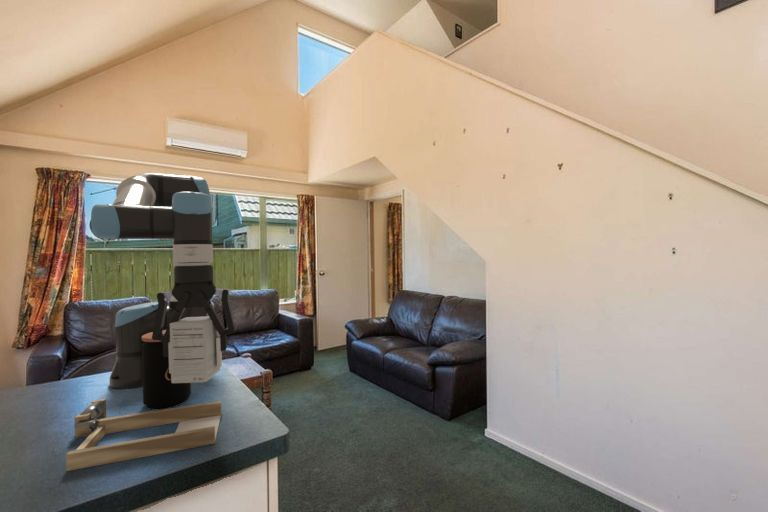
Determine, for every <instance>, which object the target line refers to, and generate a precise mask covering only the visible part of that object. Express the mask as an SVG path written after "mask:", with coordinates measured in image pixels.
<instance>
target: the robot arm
mask: <svg viewBox="0 0 768 512" xmlns="http://www.w3.org/2000/svg"><path fill="white" fill-rule="evenodd" d="M115 195H116V197H115V199H114V201H113V202H112V204H111V203H104V204H103V203H102V204H99V203H98V204H95V205H93V206H92V209H91V210H90V211H91V213H90V224H91V231H92V234H93V235H94V237H95V238H97V239H103V240H104V239H105V240H107V239H108V240H113V241H114V240H115V241H116V240H172V256H173V257H172V259H173V261H172V265H173V288H172V290H169V291H160V292H158V293H157V294H156V298H157V299H156V300H157V301H154V302H152V301H151V302H145V303H140V304H134V305H130V306H127V307H123V308H121V309H119V310H118V311H117V312H116V314H115V321H114V322H115V324H114V328H115V351H116V352H115V354H116V356H115V358H116V359H115V361H114V364H113V367H112V370H111V373H110V376H109V387H110V388H112V389H121V390H122V389H134V388H139V387H140V388H141V387H143V375H142V345H143V344H144V342H143V341H142V336H143V335H144V334H147V333H151V332H153V334H152V339H153V340H159V341H162V343H163V356H164V357H169V374H170V373H171V356H170V323H173V322H178V321H179V320H181V319H183V318H186V317H205V316H209V317H210V319H211V320H212V322H213V324H214V326H215V328H216V329H217V331H218V333H219V335H218V336H217V338H216V349H217V368H220V369H221V368H222V365H223V359H222V358H223V356H222V355H223V353H222V352H224V351H227V347H228V335H230V334H234V332H235V331H236V326H235V322H234V318H233V313H232V309H231V304H230V301H229V297H230V296H229V295H230V289H229V288H224V289H223V288H217V287H216V285H215V283H214V266H213V265H212V264H211V263H213V262H214V251H213V249H214V244H213V208H212V198H211V192H210V187H209V183H208V181H207V180H206V178H203V177H199V176H194V175H182V174H169V173H167V174H166V173H158V172H156V173H155V172H148V173H147V172H146V173H139V174H137V175H132V176H130V177H127V178H125V179H124V180H122V181H121V182H120V183H119V185H118V186H117V188H116V190H115ZM216 294H217V298H218V299H220V300H221V305H222V309H223V314H224V317H225V318H224V319H225V323H226V325H227V327H226V328H225V325H224V323H223V322H222V320H221V318H220V316H219V314H218V313H217V311H216V309H215V303H214V302H213V301H211V300H212V298H213V297H214V295H216ZM163 330H166V332H165V334H163V333H162V331H163Z"/></svg>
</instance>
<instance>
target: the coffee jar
mask: <svg viewBox="0 0 768 512" xmlns="http://www.w3.org/2000/svg"><path fill="white" fill-rule="evenodd" d="M165 332H166V330H163V331H162V333H163V334H165ZM152 334H153V332H151V333H147V334H144V335H143V336H142V341H143V342H144V344H143V345H142V375H143V386H142V398H143V399H142V402H143V403H142V404H143V405H144V406H145V407H146V408H147V409H148V410H152V409H159V410H163V409H165V408H166V409H170V408H169V407H171V408H174V407H177V406H179V404H180V405H181V403H182V404H183V402H184V403H185V402H187V401H188V400H189V397H190V396H191V394H192V390H191V388H192V386H191V383H171V373H170V374H169V357H164V356H163V343H162V341H159V340H153V339H152ZM176 405H177V406H176ZM173 406H174V407H173Z"/></svg>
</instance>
